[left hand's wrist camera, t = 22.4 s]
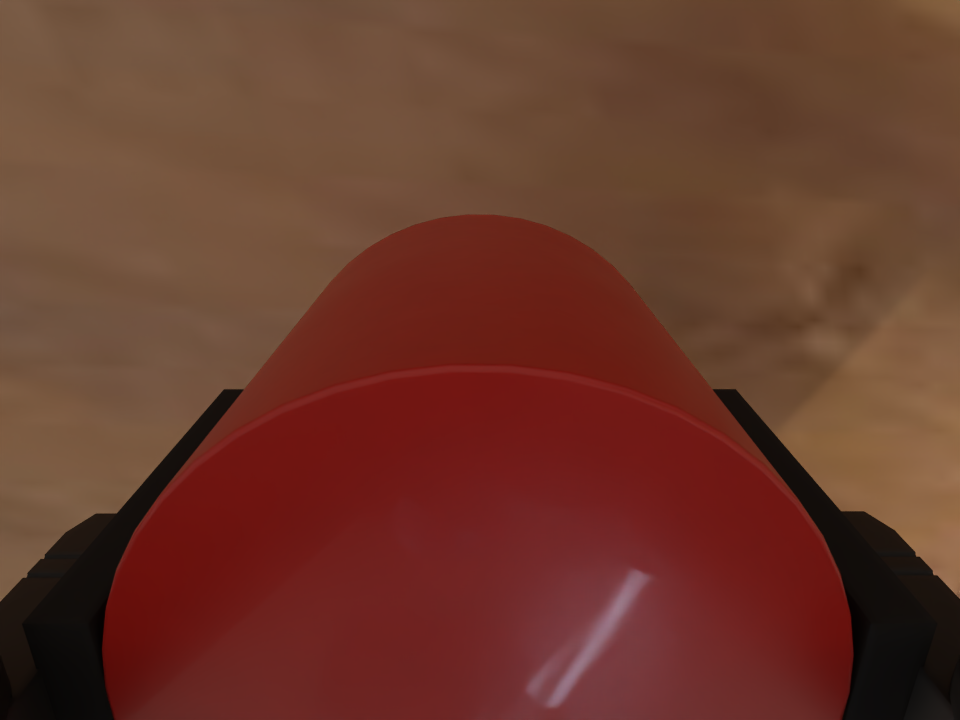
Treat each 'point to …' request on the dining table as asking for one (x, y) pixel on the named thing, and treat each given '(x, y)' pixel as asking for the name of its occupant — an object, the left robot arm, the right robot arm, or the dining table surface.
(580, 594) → the can
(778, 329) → the dining table surface
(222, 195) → the dining table surface
